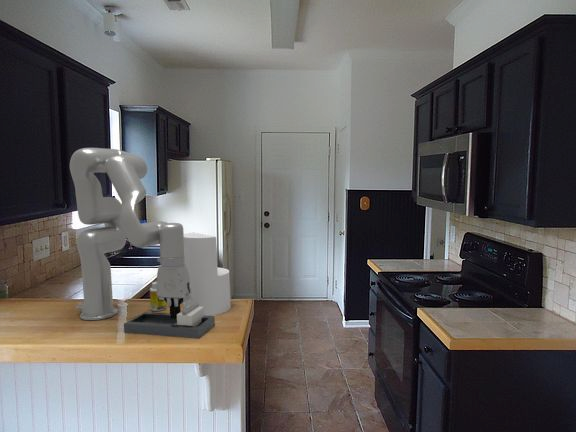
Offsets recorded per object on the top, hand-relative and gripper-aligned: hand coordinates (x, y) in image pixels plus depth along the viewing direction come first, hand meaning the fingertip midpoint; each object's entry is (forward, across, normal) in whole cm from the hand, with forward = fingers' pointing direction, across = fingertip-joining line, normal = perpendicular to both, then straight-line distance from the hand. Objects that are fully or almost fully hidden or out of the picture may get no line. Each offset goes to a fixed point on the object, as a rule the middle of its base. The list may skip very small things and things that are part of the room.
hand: (175, 317), depth 139 cm
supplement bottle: (+4, -17, +18) cm, 25 cm away
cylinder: (+4, +1, +22) cm, 22 cm away
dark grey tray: (+4, -2, 0) cm, 4 cm away
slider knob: (+2, +6, 0) cm, 6 cm away
